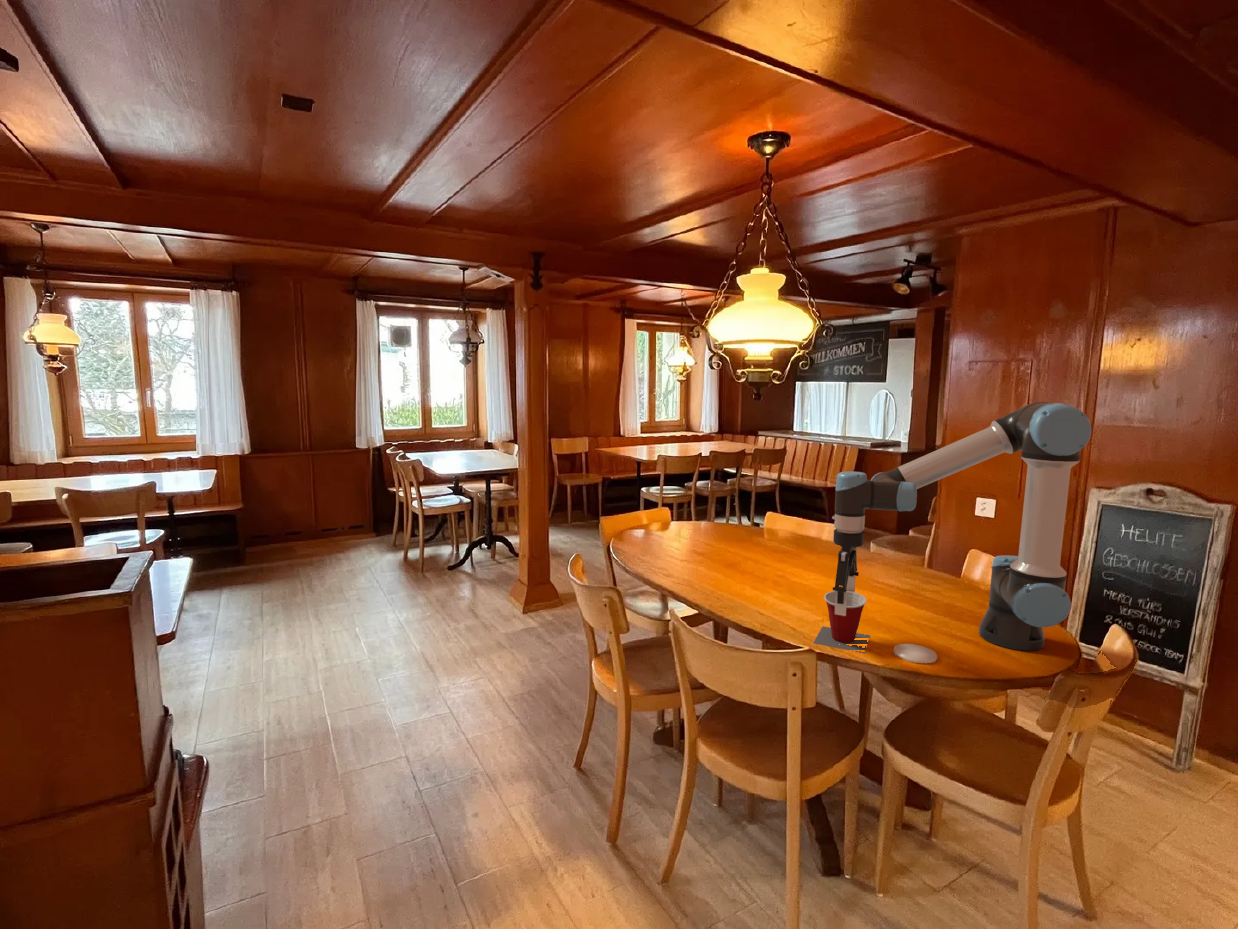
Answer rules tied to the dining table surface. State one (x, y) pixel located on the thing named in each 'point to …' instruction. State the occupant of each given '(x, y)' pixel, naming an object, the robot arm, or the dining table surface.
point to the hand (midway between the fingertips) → (844, 606)
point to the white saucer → (915, 653)
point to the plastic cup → (845, 625)
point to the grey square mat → (827, 640)
